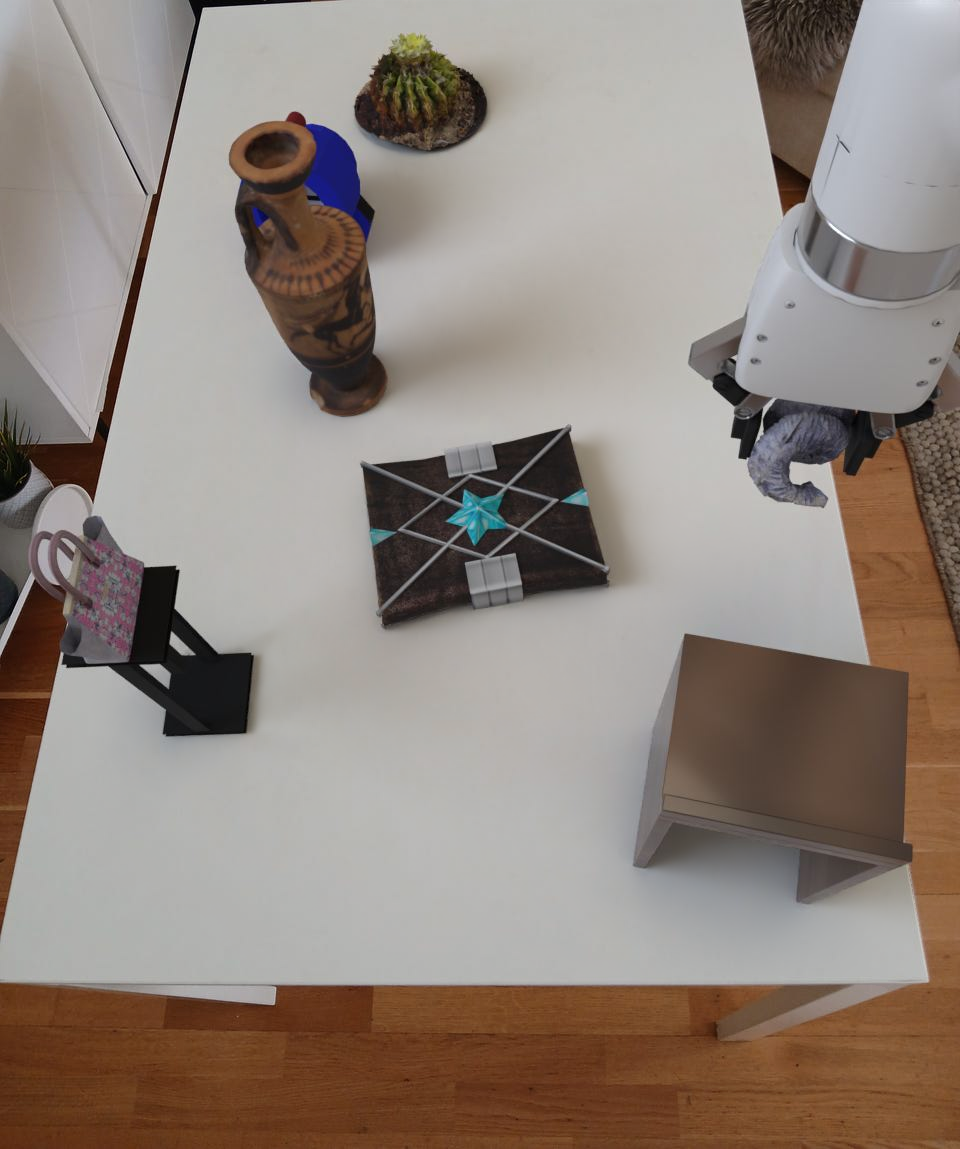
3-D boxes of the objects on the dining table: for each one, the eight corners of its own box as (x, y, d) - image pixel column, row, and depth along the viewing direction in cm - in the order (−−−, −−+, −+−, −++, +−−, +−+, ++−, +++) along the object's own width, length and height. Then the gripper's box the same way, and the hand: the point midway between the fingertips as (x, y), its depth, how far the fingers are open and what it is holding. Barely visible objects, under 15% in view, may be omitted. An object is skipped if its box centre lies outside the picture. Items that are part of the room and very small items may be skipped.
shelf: (819, 758, 77) (918, 663, 56) (808, 904, 72) (913, 862, 51) (653, 726, 79) (687, 623, 58) (632, 866, 74) (661, 810, 53)
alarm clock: (256, 267, 106) (212, 159, 93) (282, 191, 111) (244, 79, 98) (357, 274, 105) (327, 165, 91) (379, 196, 110) (353, 82, 96)
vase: (407, 347, 99) (350, 101, 72) (390, 429, 95) (324, 200, 68) (311, 342, 101) (220, 99, 74) (290, 423, 96) (186, 196, 69)
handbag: (244, 748, 81) (88, 619, 54) (163, 751, 82) (-32, 625, 55) (255, 639, 86) (115, 470, 59) (178, 642, 86) (4, 476, 59)
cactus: (508, 85, 116) (504, 10, 108) (454, 168, 111) (445, 96, 102) (390, 56, 121) (377, -19, 112) (332, 135, 115) (313, 63, 106)
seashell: (784, 531, 56) (807, 404, 60) (859, 506, 52) (879, 371, 56) (724, 488, 54) (752, 360, 58) (797, 459, 50) (822, 322, 54)
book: (383, 631, 85) (373, 610, 81) (363, 480, 92) (353, 453, 88) (610, 588, 85) (613, 565, 81) (572, 441, 93) (573, 412, 88)
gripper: (1095, 182, 41) (945, 419, 57) (705, 146, 44) (668, 381, 60) (1101, 311, 38) (941, 523, 54) (682, 263, 41) (650, 476, 57)
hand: (798, 446), depth 57 cm, fingers closed on seashell, 5 cm apart
